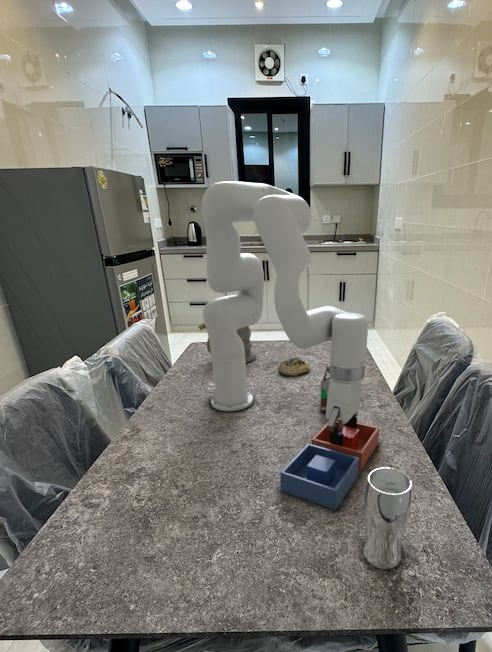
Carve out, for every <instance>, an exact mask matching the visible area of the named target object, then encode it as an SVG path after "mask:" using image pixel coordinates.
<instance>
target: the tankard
mask: <svg viewBox="0 0 492 652" xmlns="http://www.w3.org/2000/svg"><path fill="white" fill-rule="evenodd" d="M198 329H199V330H200V331H202V330H204V329H205V330H207V329H206V326H205V323H204V322H203V323H201V324H200V325H198ZM236 332H237V334H238V335H239V337H240V338H241V340H242V341H243V344H244V351H245V363H246V364H247V363H250V362H253V361H254V358H255V352H254V351H252V346H253V344H252V340H251V336H252V330H251V328H250V326H247V327H243V328H240V329H238V330H236ZM206 350H207V352H208V353H209V354H210V355H211V349H210V342H209V337H208V336H207V340H206Z"/></svg>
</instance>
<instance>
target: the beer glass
mask: <svg viewBox="0 0 492 652" xmlns="http://www.w3.org/2000/svg"><path fill="white" fill-rule="evenodd" d="M412 498H413V481H412V479H411V477H410V476H409V475H408V473H406V472H404V471H402V470H400V469H397V468H395V467H394V468H393V467H379V468H375V469H373V470H372V471H370V473H368V475H367V482H366V487H365V492H364V505H363V506H364V507H363V508H364V518H365V525H366V533H367V534H366V540H365V543H364V545H363V556H364V558H365V560H366V561H367V562H368V563H369V564H370V565H371V566H373V567H375V568H377V569H381V570H389V569H393V568H395V567H396V566H398V565H400V564H399V563H401V560H402V549H401V542H402V537H403V535H404V532H405V530H406V527H407V524H408V521H409V518H410V515H411V509H412V500H413V499H412Z"/></svg>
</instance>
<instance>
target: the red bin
mask: <svg viewBox="0 0 492 652" xmlns="http://www.w3.org/2000/svg"><path fill="white" fill-rule="evenodd" d="M337 420H339V421H342V420H341V418H338V419H337ZM327 424H328V422H326V424H324V426H323V427H321V429H320V430H319V431H317V433H316V434H315V435H314V436H313V437H312V438H311V444H312V445H316V446H319V447H323V448H327V449H330V450H334V451H337V452H341V453H344V454H348V455H351V456H355V457H358V458H359V468H358V471H362V470H363V468H364V467H365V466H366V464H367V462H368V460H369V459H370V457H371V456H372V454H373V452H374V451H375V450H376V448H377V446H378V445H379V439H380V427H378V426H373V425H369V424H365V423H360V422H357V428H356V429H358V430H359V445H358V447H357V449H356V450H354V449H350V448H346V447H343V446H339V445H335V444H332V443H329V436H330V433H329V429H328V426H327ZM336 427H338V429H339V428H340V423H336Z"/></svg>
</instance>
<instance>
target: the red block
mask: <svg viewBox="0 0 492 652" xmlns="http://www.w3.org/2000/svg"><path fill="white" fill-rule="evenodd" d="M342 434H344V438H343V447H346V448H350V449H354V450H356V449H357V447H358V445H359V430H358V429H354V428H350V427H346V426H344V428H343V432H342Z"/></svg>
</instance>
